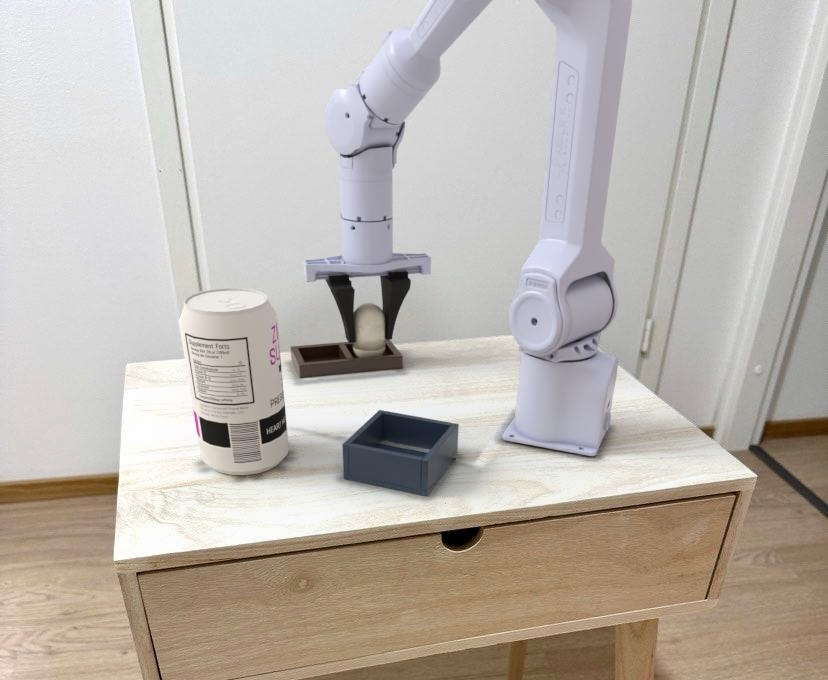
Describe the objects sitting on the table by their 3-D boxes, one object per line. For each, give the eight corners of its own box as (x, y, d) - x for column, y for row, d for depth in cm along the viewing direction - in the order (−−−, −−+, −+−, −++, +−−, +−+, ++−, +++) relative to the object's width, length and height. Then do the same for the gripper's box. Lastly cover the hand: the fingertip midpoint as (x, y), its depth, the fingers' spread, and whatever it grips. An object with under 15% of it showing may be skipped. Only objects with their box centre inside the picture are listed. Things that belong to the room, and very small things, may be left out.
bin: (457, 457, 73) (459, 423, 71) (427, 496, 67) (427, 461, 65) (379, 442, 75) (379, 409, 73) (343, 478, 69) (342, 444, 67)
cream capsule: (390, 358, 93) (390, 300, 89) (377, 369, 90) (376, 310, 86) (361, 353, 94) (360, 296, 90) (347, 364, 91) (345, 305, 87)
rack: (402, 373, 91) (402, 356, 90) (300, 382, 88) (298, 365, 87) (388, 354, 96) (388, 338, 95) (291, 363, 93) (290, 346, 92)
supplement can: (188, 453, 73) (160, 295, 64) (264, 432, 77) (248, 281, 68) (225, 487, 67) (200, 320, 59) (305, 462, 72) (292, 302, 63)
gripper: (419, 207, 88) (417, 323, 96) (295, 212, 84) (303, 332, 92) (437, 219, 82) (434, 341, 90) (305, 225, 79) (313, 352, 87)
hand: (369, 338), depth 91 cm, fingers closed on cream capsule, 4 cm apart
